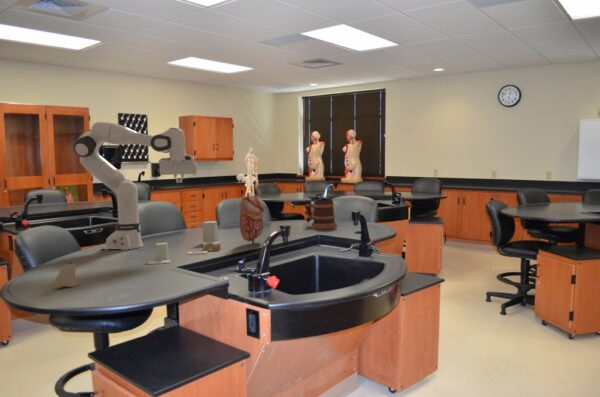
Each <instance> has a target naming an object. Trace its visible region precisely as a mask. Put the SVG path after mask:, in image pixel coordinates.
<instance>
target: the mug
mask: <svg viewBox="0 0 600 397" xmlns="http://www.w3.org/2000/svg"><path fill="white" fill-rule="evenodd" d="M305 203H306V204H305V207H306V211H307V218H306V219H305V222H307V223H310V222H311V221H312V219H313V222H312V223H311V225H310V227H311V228H312V229H319V230H321V229H322V230H323V229H325V230H326V229H334V228H337V227H338V224H337V222H336V221H335V218H336V215H335V213H334V212H335V211H334V210H335V209H334V208H335V207H334V206H335V204H334V201H333V199H331V198H327V197H321V198H320V199H318V198H315V199H313V203H311V200H309V199H308V200H305ZM311 207H313V215H312V210H311Z"/></svg>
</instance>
